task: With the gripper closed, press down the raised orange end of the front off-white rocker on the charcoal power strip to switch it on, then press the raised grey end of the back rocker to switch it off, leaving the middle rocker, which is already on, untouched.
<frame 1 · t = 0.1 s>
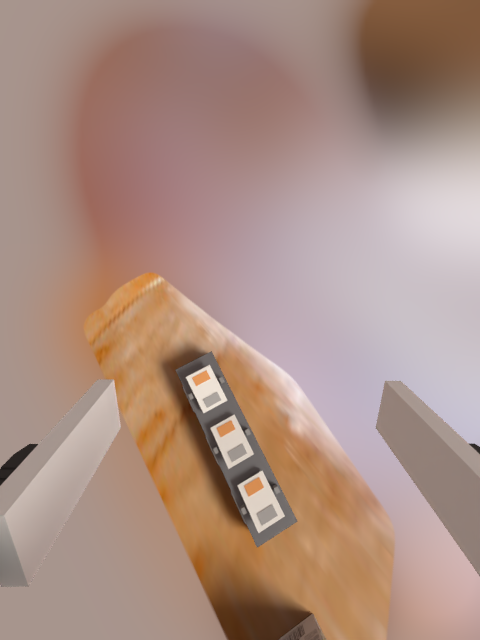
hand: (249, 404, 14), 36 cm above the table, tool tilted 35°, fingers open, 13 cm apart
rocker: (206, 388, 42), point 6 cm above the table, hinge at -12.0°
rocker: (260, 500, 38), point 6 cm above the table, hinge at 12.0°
rocker middle: (232, 440, 40), point 6 cm above the table, hinge at 12.0°
power strip: (232, 436, 46), on the table
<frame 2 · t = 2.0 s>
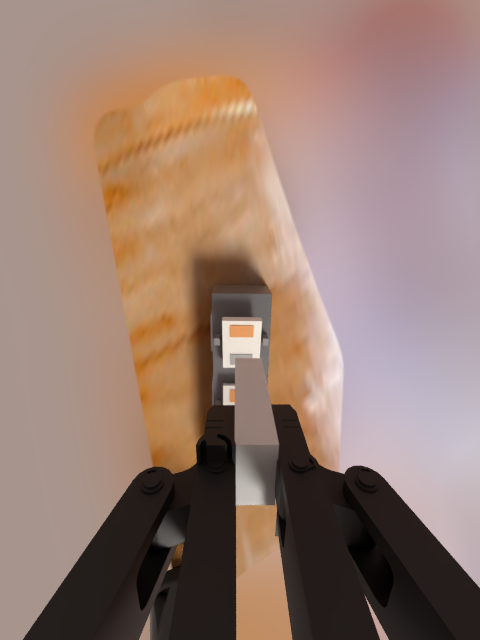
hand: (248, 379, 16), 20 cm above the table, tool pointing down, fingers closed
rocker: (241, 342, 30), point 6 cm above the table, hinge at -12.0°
rocker middle: (240, 408, 32), point 6 cm above the table, hinge at 12.0°
power strip: (239, 381, 38), on the table
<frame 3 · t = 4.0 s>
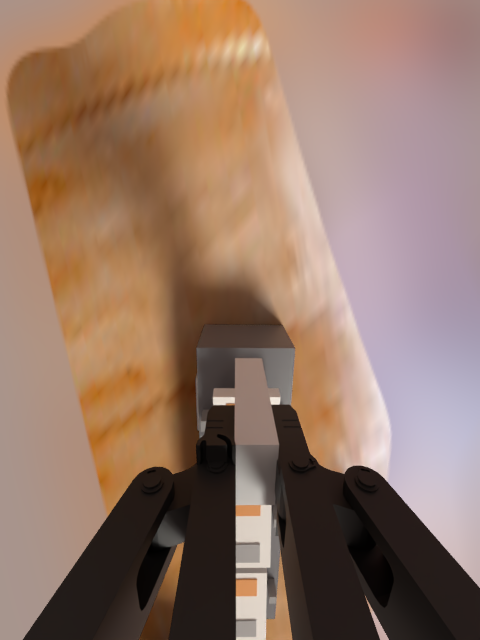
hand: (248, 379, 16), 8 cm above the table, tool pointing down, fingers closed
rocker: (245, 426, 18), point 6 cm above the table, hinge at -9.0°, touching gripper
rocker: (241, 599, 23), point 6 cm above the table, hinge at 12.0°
rocker middle: (243, 522, 21), point 6 cm above the table, hinge at 12.0°
power strip: (241, 458, 27), on the table
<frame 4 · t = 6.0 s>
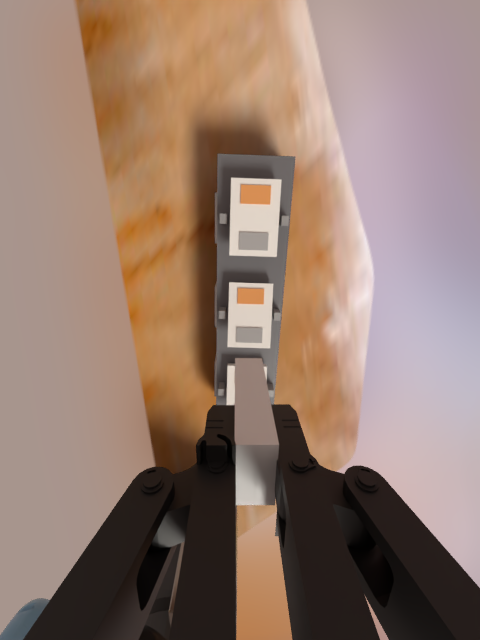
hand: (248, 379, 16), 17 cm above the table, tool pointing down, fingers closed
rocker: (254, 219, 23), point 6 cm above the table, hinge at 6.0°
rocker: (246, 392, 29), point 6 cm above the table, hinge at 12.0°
rocker middle: (249, 315, 26), point 6 cm above the table, hinge at 12.0°
coffee box: (216, 490, 42), on the table
power strip: (247, 298, 32), on the table
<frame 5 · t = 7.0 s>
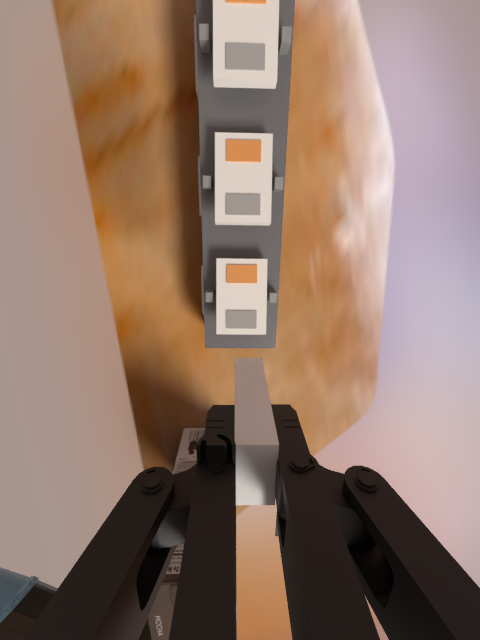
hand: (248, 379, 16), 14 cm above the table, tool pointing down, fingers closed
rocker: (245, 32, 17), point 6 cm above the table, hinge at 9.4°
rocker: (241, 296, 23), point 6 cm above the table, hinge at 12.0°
rocker middle: (243, 181, 20), point 6 cm above the table, hinge at 12.0°
coffee box: (210, 454, 35), on the table
power strip: (241, 193, 26), on the table
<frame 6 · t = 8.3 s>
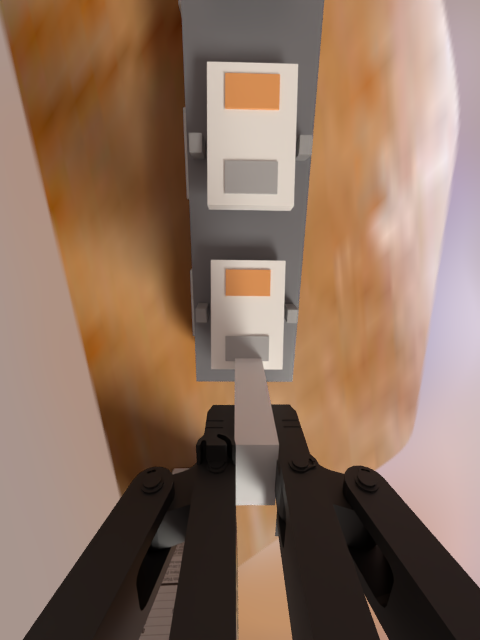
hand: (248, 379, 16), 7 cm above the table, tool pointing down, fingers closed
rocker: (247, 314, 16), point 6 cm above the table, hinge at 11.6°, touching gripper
rocker middle: (250, 142, 13), point 6 cm above the table, hinge at 12.0°
coffee box: (206, 498, 29), on the table
power strip: (245, 169, 19), on the table
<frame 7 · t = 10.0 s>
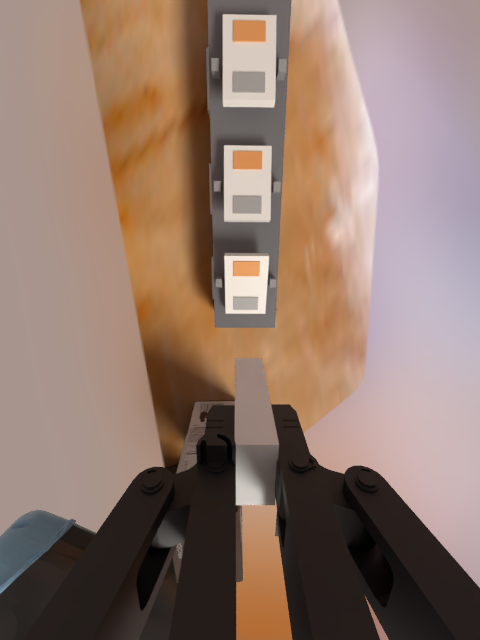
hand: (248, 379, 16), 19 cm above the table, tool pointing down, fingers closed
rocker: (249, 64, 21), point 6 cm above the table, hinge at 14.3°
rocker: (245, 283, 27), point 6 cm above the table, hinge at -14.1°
rocker middle: (247, 185, 24), point 6 cm above the table, hinge at 12.0°
coffee box: (218, 426, 40), on the table
power strip: (245, 194, 30), on the table
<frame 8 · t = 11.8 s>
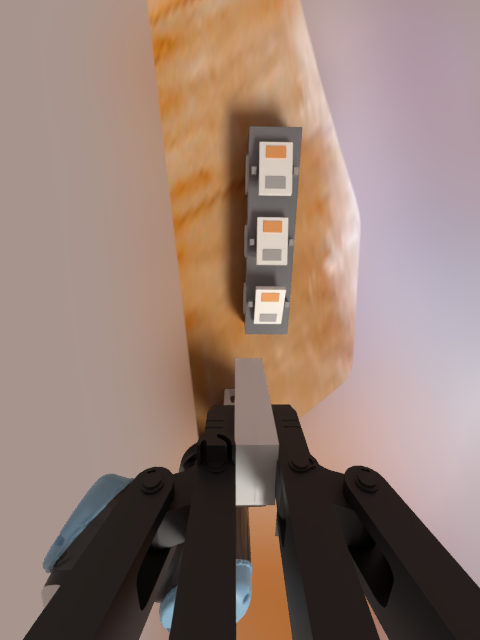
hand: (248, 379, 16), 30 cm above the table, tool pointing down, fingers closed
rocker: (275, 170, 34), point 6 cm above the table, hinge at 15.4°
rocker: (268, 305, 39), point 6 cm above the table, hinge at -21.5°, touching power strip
rocker middle: (271, 242, 37), point 6 cm above the table, hinge at 12.0°
power strip: (266, 240, 43), on the table
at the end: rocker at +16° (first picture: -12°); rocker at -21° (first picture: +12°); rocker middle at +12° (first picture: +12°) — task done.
